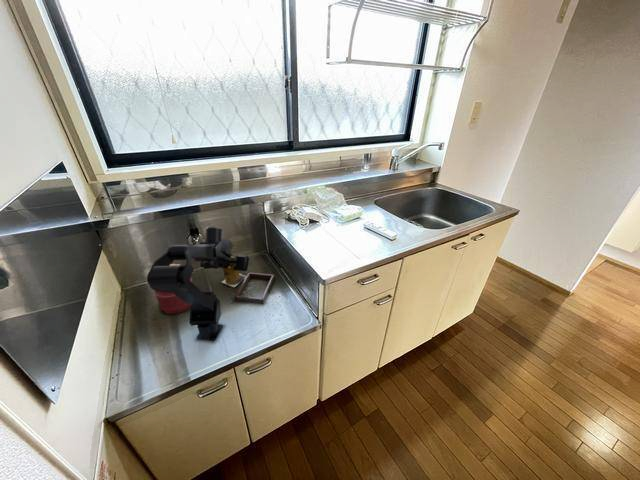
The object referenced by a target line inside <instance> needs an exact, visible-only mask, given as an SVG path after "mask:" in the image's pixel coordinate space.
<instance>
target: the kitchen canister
mask: <svg viewBox="0 0 640 480" xmlns="http://www.w3.org/2000/svg"><path fill="white" fill-rule="evenodd" d="M171 265H180V263H179V264H178V263H172V264H170V265H169V266H171ZM190 281H191V282H192V283H193V279H192V277H191V278H190ZM153 294H154V295H155V298H156V300H157V303H158V306H159V308H160V310H161V311H162V312H163V313H165V314H170V315H171V314H172V315H173V314H175V315H176V314H179V313H182V312H184V311H186V310H188V309H190V306H191V305H189V304H188V303H186V302H185V301H183V300H182V299H180V298H179V297H177V296H176V295H174V294H173V293H169V292H160V291H156V290H153Z"/></svg>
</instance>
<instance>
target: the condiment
mask: <svg viewBox="0 0 640 480" xmlns="http://www.w3.org/2000/svg"><path fill="white" fill-rule="evenodd" d="M235 256H236V255H233V254H232V256H231V258H234V257H235ZM233 261H234V260H233ZM222 269H223V276H224V279H223V280H222V281H221V283H222V284H225V285H227V286H229V287H232V288H235V287H237V286H238V285H240V283H241V282H243V281H244V279H245V278H246V276H247V275H246V274H243V273H240V271H237V270H234V265H233V263H230V266H228V269H226V268H222Z"/></svg>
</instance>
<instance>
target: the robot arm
mask: <svg viewBox="0 0 640 480" xmlns="http://www.w3.org/2000/svg"><path fill="white" fill-rule="evenodd" d="M204 238H205V239H204V241H198V243H197V244H194V245H189V244H173V245H170V246H169V247H168V248H167V249H166V252H165V253H164V254H162V255H161V256H159V257H158V258H157V259H155V261H154V262H153V264H152V265H151V267H150V269H149V271H148V273H147V275H146V281H147V284H148V286H149V288H150V289H151V290H152V291H154V290H156V291H160V292H169V293H173V294H174V295H176V296H177V297H179V298H180V299H182V300H183V301H185V302H186V303H188V304H189V305H191V306H190V308H189V321H188V322H189V325H190V326H191V327H193V326H196V327H197V330H198V335H196V339H197V340H200V341H201V340H202V341H210V342H214V341H216V340H217V338H218V337H219V335H220V333H221V331H222V330H223V327H224V325H223V324H219V321H220V319H221V315H222V309H221V308H222V307H221V300H220V299H219V298H218V297H217V296H218V295H217V294H215V292H214V291H212V290H211V291H210V290H209V291H202V290H201V289H200V288H199V287H198V286H196V284H194V282H193V281H192V282H191V281H190V278H191V279H192V275H193V273H194V267H193V265H192V260H193V261H194V262H200V263H199V265H200V268H203V269H204V270H208V269H214V270H215V269H216V270H217V269H223V268H226V269H228V266H230V263H233V265H234V270H237V271H239V272H247V271H248V268H249V262H250V257H249V256H248V255H247V254H237V255H234V256H235V257H234V258H231V256H232V255H233V253H232V250H233V248H234V243H233V241H232V240H231V239H229V238H228V239H227V238H223V229H222V228H218V227H214V226H209V227H207V228H206V229H205V237H204ZM233 260H234V261H233ZM175 261H186V262H185V265H184V264H179V265H171V266H169V265H170V264H174V262H175Z"/></svg>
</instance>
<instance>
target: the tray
mask: <svg viewBox="0 0 640 480" xmlns="http://www.w3.org/2000/svg"><path fill="white" fill-rule="evenodd" d="M245 276H246V278H245V279H244V280H242V283H241V285H240V286H239V288H238V289H237V291H236V293H235V294H234V301H235V302H241V303H243V302H244V303H251V304H261V305H262V304H263V305H264V303H265V302H266V300H267V297H268V294H269V292H270V291H271V287H272V285H273V283H274V281H275V274H270V273H260V272H249V271H248V273H247V274H246V275H245ZM252 278H253V279H261V280H262V279H263V280H268V283H267V285H266V288H265V290H264V292H263V294H262V296H261V297H254V296H247V295H245V296H244V295H242V293H243V291H244V290H245V288H246V286H247V284H248V282H249V280H250V279H252Z"/></svg>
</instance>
